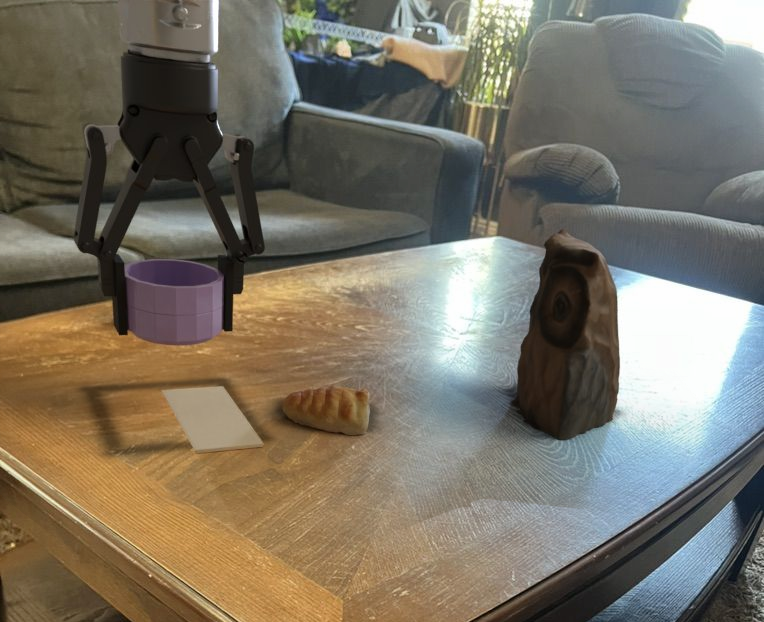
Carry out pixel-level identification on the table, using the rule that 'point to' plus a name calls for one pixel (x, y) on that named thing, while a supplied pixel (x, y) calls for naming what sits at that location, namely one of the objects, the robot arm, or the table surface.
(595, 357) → the owl
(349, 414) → the pastry
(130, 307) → the near dish
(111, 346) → the table surface
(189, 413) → the place mat
